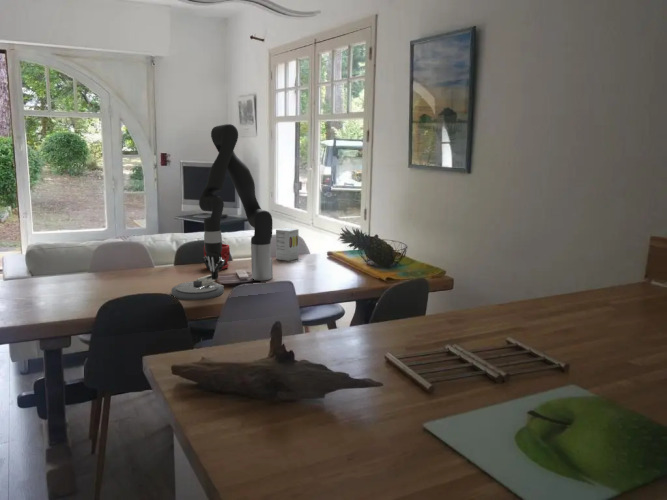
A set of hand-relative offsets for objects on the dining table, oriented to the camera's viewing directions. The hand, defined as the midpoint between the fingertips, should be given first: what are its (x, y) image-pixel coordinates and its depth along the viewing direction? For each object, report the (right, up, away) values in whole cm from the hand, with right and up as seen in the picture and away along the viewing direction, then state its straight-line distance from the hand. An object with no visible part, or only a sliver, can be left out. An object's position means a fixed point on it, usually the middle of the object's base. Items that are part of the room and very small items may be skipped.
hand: (214, 279), depth 253 cm
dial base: (-6, -6, -5) cm, 10 cm away
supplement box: (+27, +8, +67) cm, 72 cm away
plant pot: (-8, +3, +43) cm, 43 cm away
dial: (-6, -3, -5) cm, 8 cm away
